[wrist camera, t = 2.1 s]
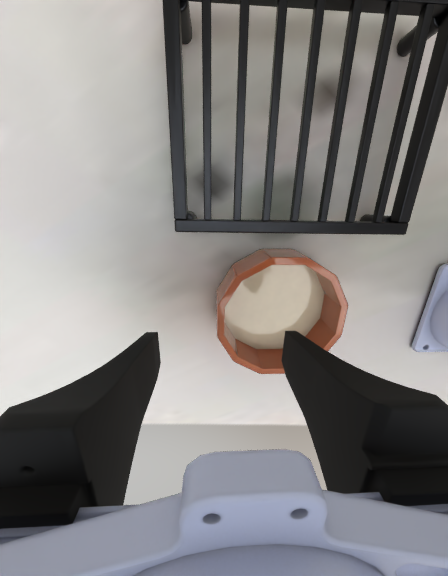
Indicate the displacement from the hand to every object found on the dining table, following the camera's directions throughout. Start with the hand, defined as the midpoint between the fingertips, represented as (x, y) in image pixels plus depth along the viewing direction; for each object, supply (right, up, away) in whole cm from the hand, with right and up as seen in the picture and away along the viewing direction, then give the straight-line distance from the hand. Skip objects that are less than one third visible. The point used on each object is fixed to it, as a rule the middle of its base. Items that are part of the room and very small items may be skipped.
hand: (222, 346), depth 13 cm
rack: (+4, +13, +2) cm, 14 cm away
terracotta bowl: (+4, +2, +6) cm, 7 cm away
